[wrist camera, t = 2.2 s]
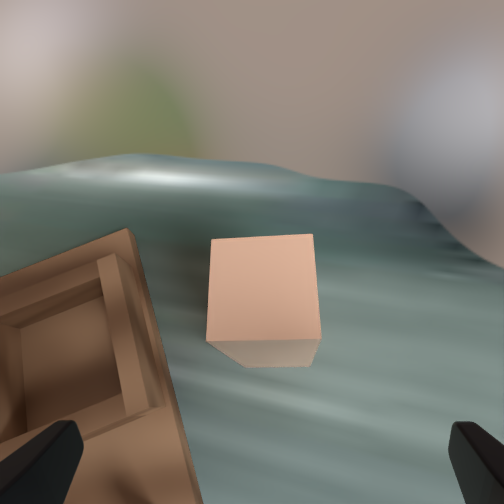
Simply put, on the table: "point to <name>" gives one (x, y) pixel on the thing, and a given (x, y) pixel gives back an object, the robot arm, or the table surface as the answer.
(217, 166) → the table surface
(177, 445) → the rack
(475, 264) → the table surface
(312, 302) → the clay bar
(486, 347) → the table surface
